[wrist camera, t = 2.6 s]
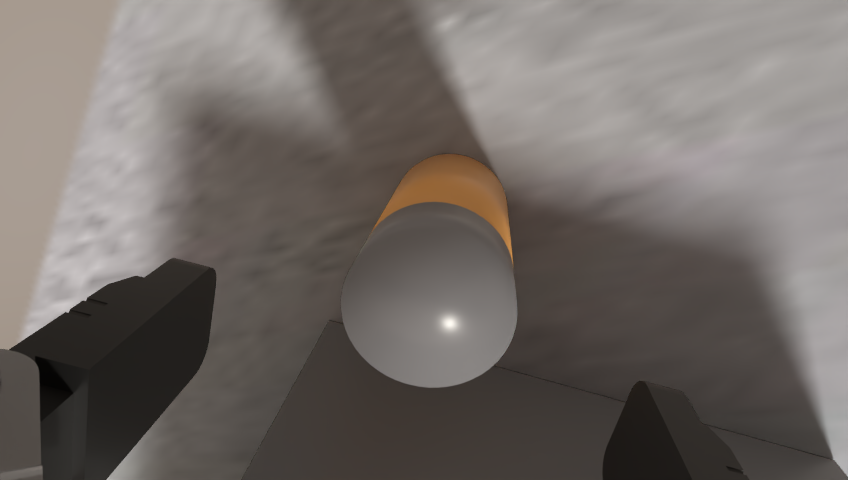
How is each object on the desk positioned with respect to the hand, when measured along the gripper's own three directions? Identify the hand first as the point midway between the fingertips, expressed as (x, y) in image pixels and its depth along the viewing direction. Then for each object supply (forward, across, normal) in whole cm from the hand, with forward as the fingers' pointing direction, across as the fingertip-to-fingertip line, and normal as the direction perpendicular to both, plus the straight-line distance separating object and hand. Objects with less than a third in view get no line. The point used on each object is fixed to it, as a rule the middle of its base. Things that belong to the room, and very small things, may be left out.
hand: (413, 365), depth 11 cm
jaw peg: (+8, 0, -1) cm, 8 cm away
